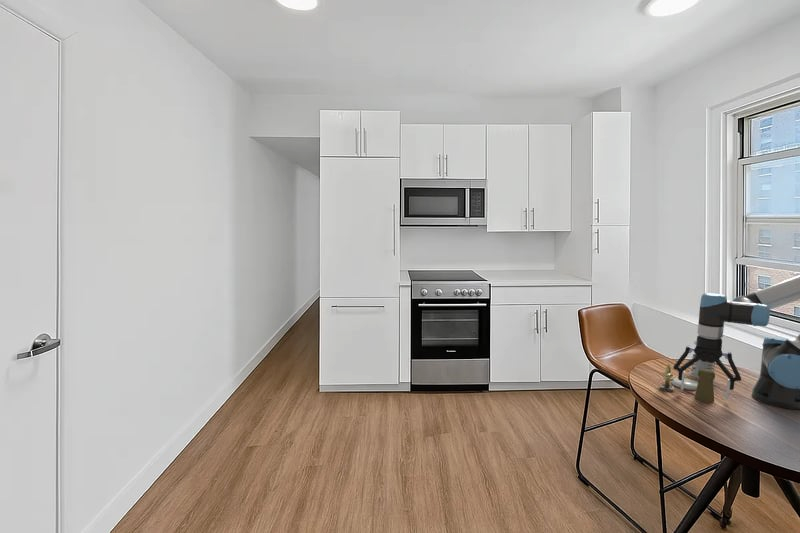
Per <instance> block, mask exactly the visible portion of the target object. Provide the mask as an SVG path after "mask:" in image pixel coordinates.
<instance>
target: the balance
mask: <svg viewBox="0 0 800 533" xmlns="http://www.w3.org/2000/svg"><path fill="white" fill-rule="evenodd" d="M661 375H662V376H663V377H662V379H663V380H664V383H660V386H659V390H662V391H666V392H670V393H674V391H675V386H674V385H671V382H672V381H674V378H675V377H674V373H672V366H671V365H670V364H669V363H667V364H666V365H665V371H663V372H661Z"/></svg>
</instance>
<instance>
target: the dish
mask: <svg viewBox="0 0 800 533" xmlns="http://www.w3.org/2000/svg"><path fill="white" fill-rule="evenodd" d="M673 378H674V381H671V384H672V386H674V387H676V388H679V389H681V382H682V380H679V379H678V377H673ZM697 385H698V381H697V380H695V379H691V378H687V377H686V378H684V388H683V390H687V391H696V389H697Z"/></svg>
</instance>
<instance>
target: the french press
mask: <svg viewBox="0 0 800 533" xmlns="http://www.w3.org/2000/svg"><path fill="white" fill-rule="evenodd" d="M696 343H697V340H695V341H693V344H694V345H695V346H696ZM693 353H694V354H692V358H694V357H695V356H696V353H695V352H694V351H693ZM715 364H716V362H714V363H710V362H703V361H701V360H698V361H697V362H695V363H694V364H692V365H691V370H690V371H689V372H688V375H689V376H691V377H693V378H697V379H699V376H698V371H699V370H700V369H708V370H712V371H713V372H714V373H715ZM716 379H717V376H716V375H715V378H714V380H716Z"/></svg>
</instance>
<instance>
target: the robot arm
mask: <svg viewBox="0 0 800 533" xmlns="http://www.w3.org/2000/svg"><path fill="white" fill-rule="evenodd" d="M799 300H800V274H799V275H796V276H793V277H791V278H788V279H786V280H783V281H781V282H778V283H776V284H773V285H770V286H767V287H765V288H762V289H759V290H757V291H754V292H752V293H749V294H747V295H739V296H736V297H735V298H734V299H733V300H728V298H727V295H725V294H722V293H721V294H720V293H713V292H708V293H706V292H705V293H703V294H702V295H701V298H700V302H699V303H700V304H699V312H698V313H699V314H698V324H697V332H696V333H697V336H696V341H697V343H696V345H695V347H692V346H690V345H686V346H685V351H683V353H682V354H681V356H680V357H679V358H678V360H677V361H676V362H675V363H674V365H673V367H672V368H673V369H674V370H675V371H678V376H677V378H678V379H679V380H682V382H681V388H680V390H681V391H684V389H683V388H684V378H685V376H686V371H685V370H687V369H688V368H690V367H692V364H694V363H695V362H697V361H698V360H701V361H703V362H710V363H713V364H714V362H715V364H716V365H717V366H718V367H719V368H720V369H721V370H722V372H723V373H724V374H725V375H726V377H727V381H726V392H725V400H730V399H729V398H730V390H731V391H734V389H735V382H741V381H742V377H741V375H740V372H739V371H738V368H737V366H736V364H735V362H734V360H733V354H732V352H731V351H728V352H725V351H724V352H723V351H722V347H723V336H724V328H725V326H724V325H725V323H733V324H740V325H747V326H753V327H767V326H768V325H769V323H770V315H771V314H770V313H771V312H770V311H772V310H774V309H776V308H780V307H782V306H785V305H788V304H791V303H794V302H796V301H799ZM692 352H693V353H694V352H695V353H696V356H694V358H693V357H692V358H691V359H690V360H688V361H687V362H686V363H684V364H683V362H684V361H685V359H686V358H687V357H688V355H689V354H691V353H692ZM761 352H762V354H761V361H760V362H761V363H760V372H759V373H760V375H759V377H758V379H757V381H756V383H754V386H753V388H752V393H751V397H752V398H753V399H754V400H757V401H758V402H761V403H763V404H766V405H770V406H773V407H777V408H782V409H790V410H800V334H798V335H797V336H796V337H790V338H785V337H777V336H767V337H764V338H763V343H762V351H761ZM695 353H694V354H695ZM722 357H724V359H726V360H727V361H728V363H729V366H730V367H731V370H732V372H733V374H734V375H733V374H732V373H731V372H730V371H729V369H728V367H726V365H725V364H724V363H723V361H722V360H721V359H720V358H722ZM681 364H683V365H681Z"/></svg>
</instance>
